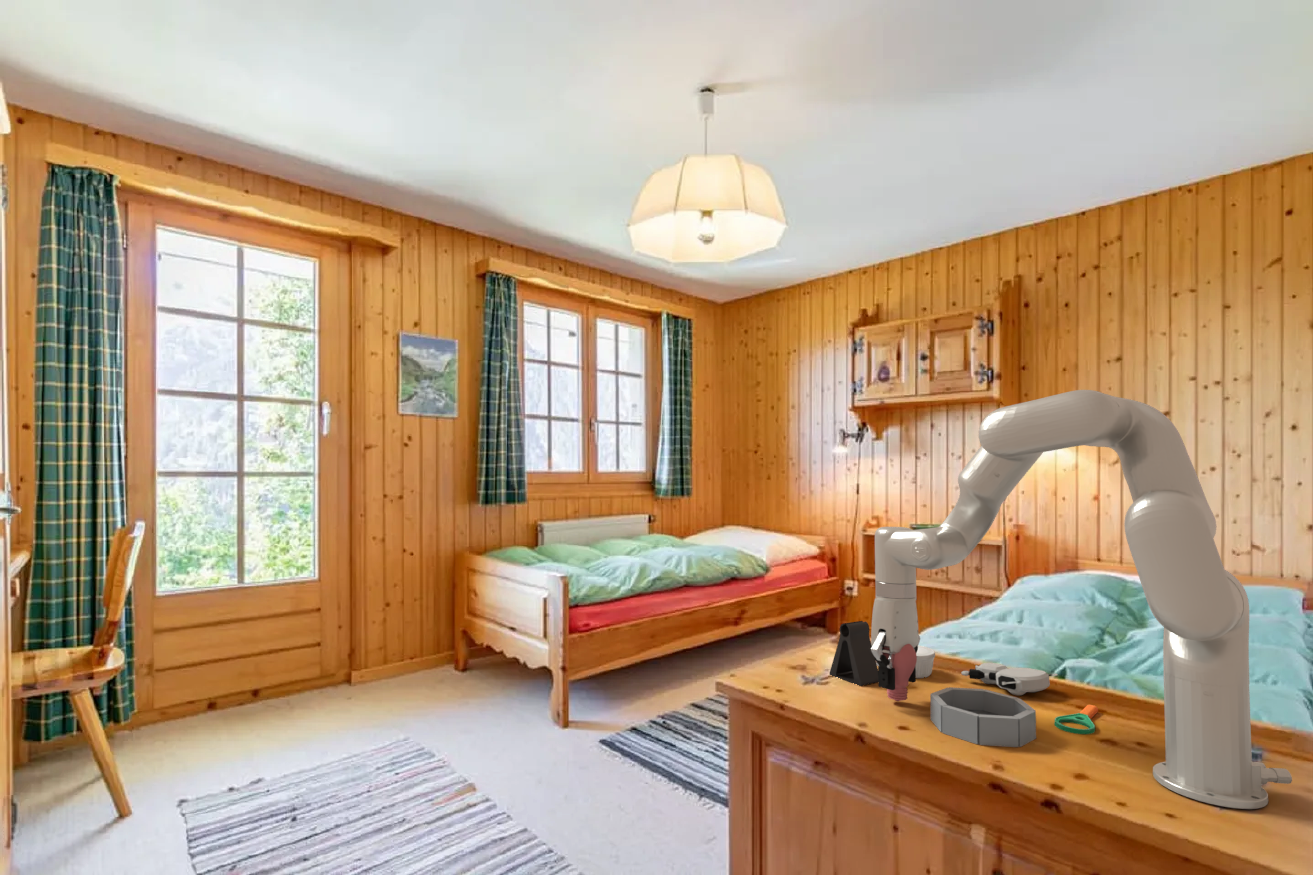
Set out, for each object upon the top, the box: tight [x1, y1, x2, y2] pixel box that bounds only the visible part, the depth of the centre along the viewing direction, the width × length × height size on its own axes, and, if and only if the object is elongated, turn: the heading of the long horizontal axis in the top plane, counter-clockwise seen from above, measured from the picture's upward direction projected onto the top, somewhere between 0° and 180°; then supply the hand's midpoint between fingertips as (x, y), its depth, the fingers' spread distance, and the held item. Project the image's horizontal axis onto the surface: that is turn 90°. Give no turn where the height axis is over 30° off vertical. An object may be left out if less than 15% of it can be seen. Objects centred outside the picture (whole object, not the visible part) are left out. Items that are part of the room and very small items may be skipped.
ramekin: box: [916, 645, 936, 679], centre depth 150 cm, size 11×11×5 cm
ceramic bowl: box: [930, 686, 1037, 748], centre depth 116 cm, size 15×15×4 cm
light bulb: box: [884, 644, 917, 702], centre depth 129 cm, size 7×7×12 cm
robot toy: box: [961, 662, 1058, 696], centre depth 140 cm, size 12×4×15 cm
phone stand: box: [829, 620, 878, 687], centre depth 144 cm, size 9×6×12 cm, turn 31°
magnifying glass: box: [1053, 704, 1099, 735], centre depth 121 cm, size 15×6×2 cm, turn 134°
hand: (897, 683), depth 128 cm, fingers closed on light bulb, 6 cm apart
